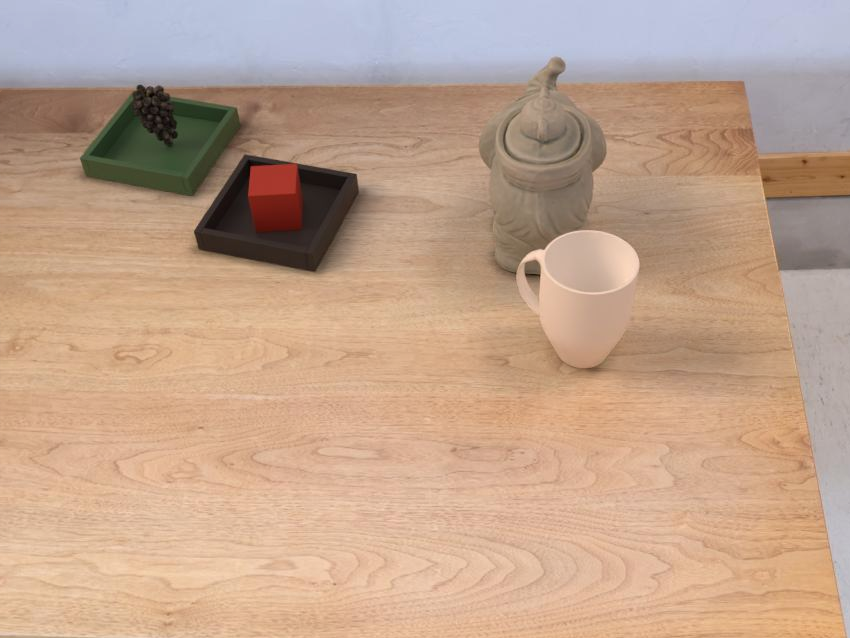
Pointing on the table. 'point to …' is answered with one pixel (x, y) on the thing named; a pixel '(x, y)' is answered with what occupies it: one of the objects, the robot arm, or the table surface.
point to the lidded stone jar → (539, 168)
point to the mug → (583, 293)
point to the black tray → (302, 249)
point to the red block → (275, 197)
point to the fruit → (155, 112)
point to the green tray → (162, 147)
